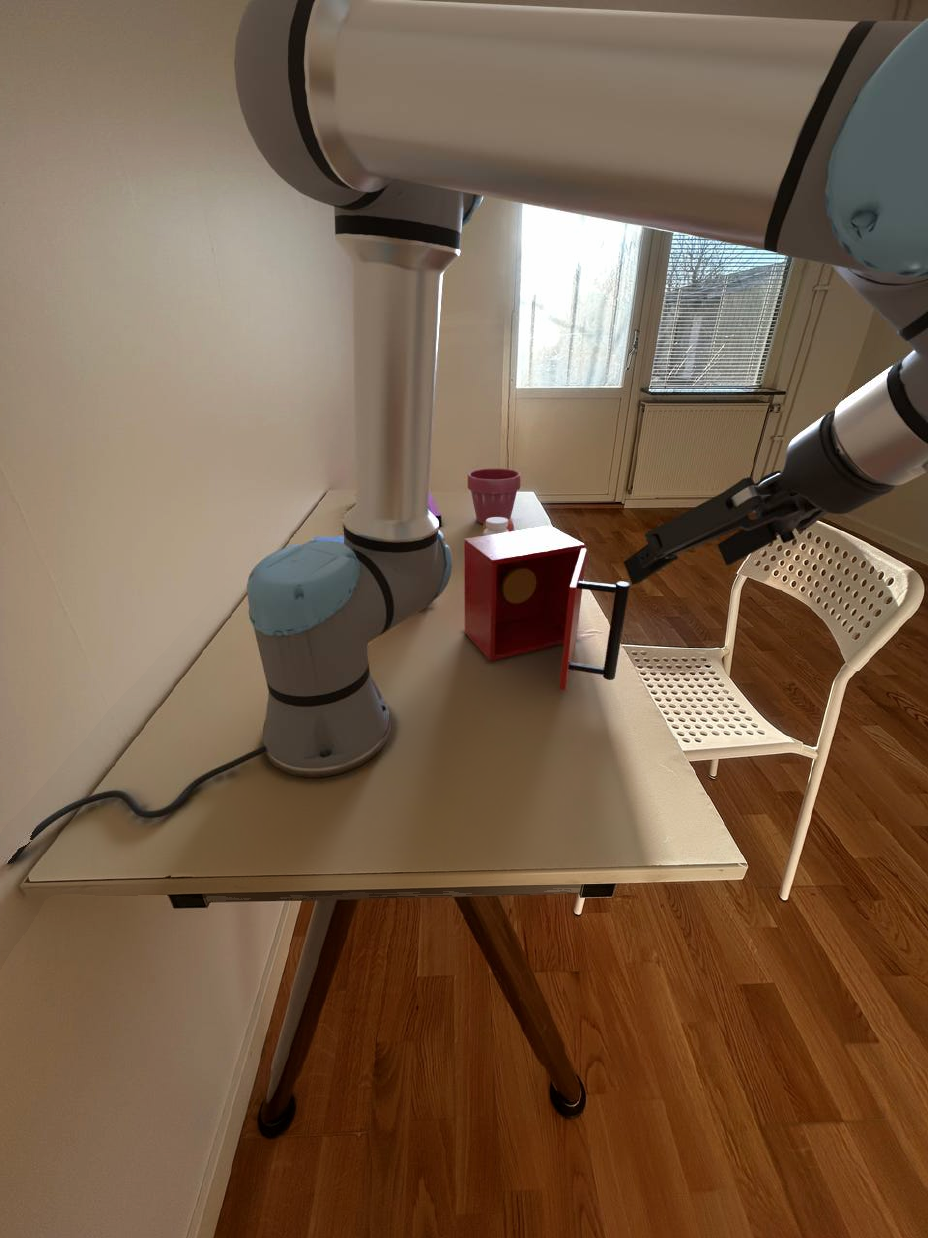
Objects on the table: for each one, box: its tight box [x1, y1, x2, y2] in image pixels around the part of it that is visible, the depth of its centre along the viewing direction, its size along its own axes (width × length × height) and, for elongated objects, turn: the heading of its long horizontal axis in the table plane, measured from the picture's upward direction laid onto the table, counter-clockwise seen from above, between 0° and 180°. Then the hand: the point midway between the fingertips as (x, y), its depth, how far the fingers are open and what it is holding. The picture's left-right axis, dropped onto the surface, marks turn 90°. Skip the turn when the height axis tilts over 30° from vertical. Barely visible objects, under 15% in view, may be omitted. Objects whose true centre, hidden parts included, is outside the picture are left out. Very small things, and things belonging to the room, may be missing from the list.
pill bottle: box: [482, 517, 509, 536], centre depth 111 cm, size 6×6×10 cm
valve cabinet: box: [463, 525, 586, 662], centre depth 81 cm, size 10×15×17 cm, turn 113°
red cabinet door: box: [558, 548, 631, 691], centre depth 72 cm, size 7×14×16 cm, turn 163°
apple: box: [482, 512, 515, 533], centre depth 121 cm, size 7×7×8 cm
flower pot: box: [467, 467, 522, 525], centre depth 138 cm, size 14×14×13 cm
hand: (679, 563), depth 58 cm, fingers open, 13 cm apart
